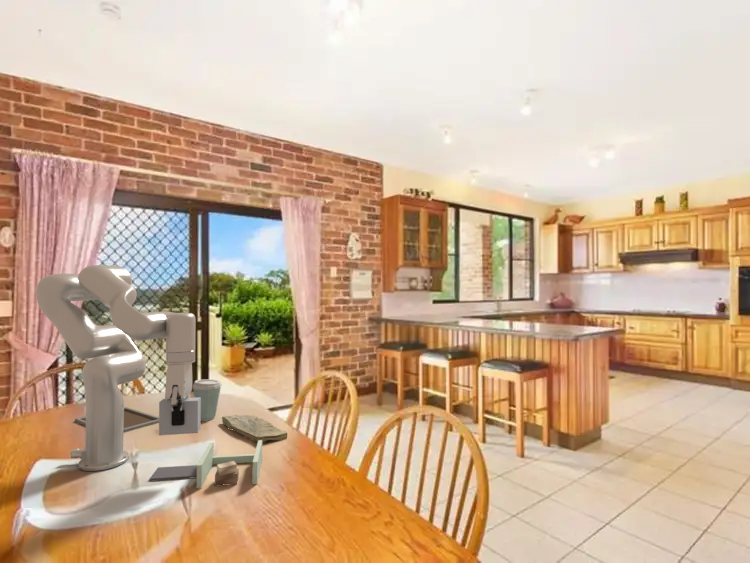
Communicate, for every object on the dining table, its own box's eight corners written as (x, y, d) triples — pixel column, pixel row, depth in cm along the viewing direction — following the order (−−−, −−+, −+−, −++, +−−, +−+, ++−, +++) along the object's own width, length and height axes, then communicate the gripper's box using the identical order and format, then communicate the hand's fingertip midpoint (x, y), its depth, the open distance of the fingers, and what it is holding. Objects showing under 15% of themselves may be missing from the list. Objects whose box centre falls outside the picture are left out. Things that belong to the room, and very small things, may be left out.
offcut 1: (219, 475, 111) (220, 468, 111) (216, 472, 113) (217, 464, 113) (236, 471, 114) (236, 464, 114) (233, 468, 116) (233, 460, 116)
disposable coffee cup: (211, 412, 173) (211, 376, 174) (226, 417, 167) (227, 379, 167) (186, 419, 165) (187, 380, 165) (202, 425, 159) (202, 384, 159)
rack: (196, 488, 110) (196, 465, 110) (209, 463, 125) (209, 442, 125) (257, 484, 112) (257, 461, 112) (262, 459, 128) (262, 440, 128)
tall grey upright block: (158, 435, 116) (159, 402, 116) (162, 430, 119) (163, 398, 119) (197, 433, 117) (197, 400, 117) (200, 428, 121) (200, 397, 121)
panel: (149, 480, 114) (149, 478, 114) (157, 469, 121) (158, 467, 121) (200, 477, 116) (200, 475, 116) (206, 466, 123) (206, 464, 123)
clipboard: (111, 433, 146) (71, 417, 162) (111, 437, 146) (71, 421, 162) (164, 418, 162) (123, 405, 178) (164, 422, 162) (123, 409, 178)
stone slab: (247, 410, 168) (289, 426, 147) (247, 421, 168) (289, 438, 147) (217, 416, 160) (257, 434, 138) (217, 427, 160) (257, 447, 138)
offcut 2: (214, 486, 111) (215, 475, 111) (216, 481, 114) (216, 470, 114) (237, 485, 112) (237, 473, 112) (238, 479, 116) (238, 468, 116)
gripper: (174, 352, 126) (174, 414, 126) (156, 362, 110) (155, 433, 109) (201, 352, 127) (201, 413, 127) (187, 362, 111) (186, 432, 111)
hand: (180, 422), depth 118 cm, fingers closed on tall grey upright block, 3 cm apart
